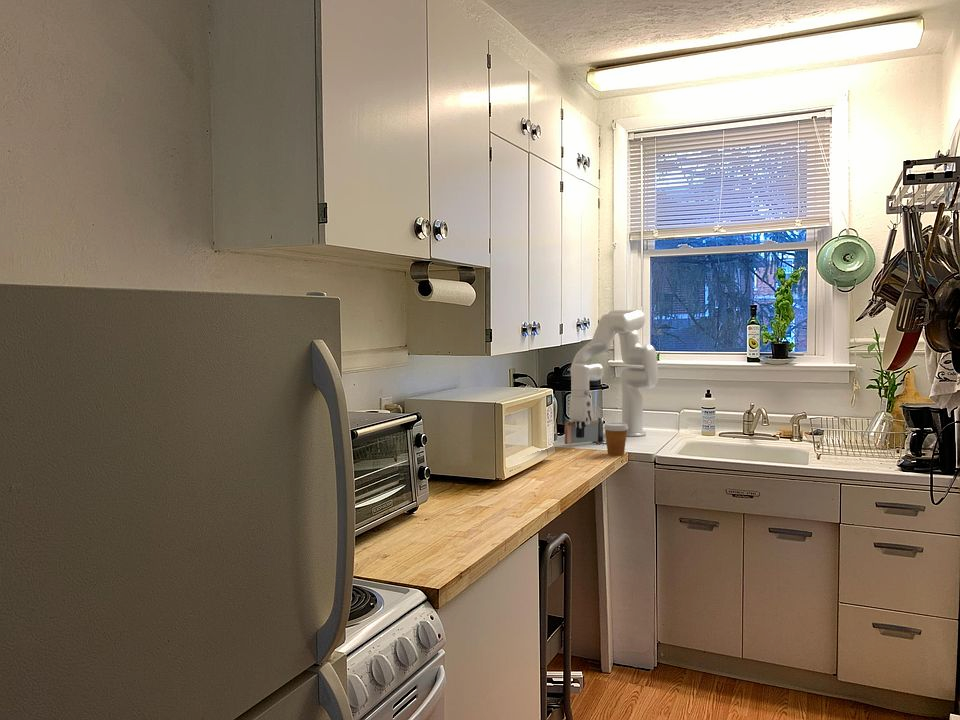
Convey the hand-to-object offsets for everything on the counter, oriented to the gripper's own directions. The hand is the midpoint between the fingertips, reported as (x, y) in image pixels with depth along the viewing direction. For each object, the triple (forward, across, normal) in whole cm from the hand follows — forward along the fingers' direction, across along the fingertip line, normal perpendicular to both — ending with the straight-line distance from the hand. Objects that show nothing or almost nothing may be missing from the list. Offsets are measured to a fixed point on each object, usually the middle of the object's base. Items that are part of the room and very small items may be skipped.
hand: (580, 437), depth 307 cm
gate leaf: (+3, +4, -4) cm, 7 cm away
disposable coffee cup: (+4, -20, 0) cm, 21 cm away
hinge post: (+4, +3, -14) cm, 15 cm away
